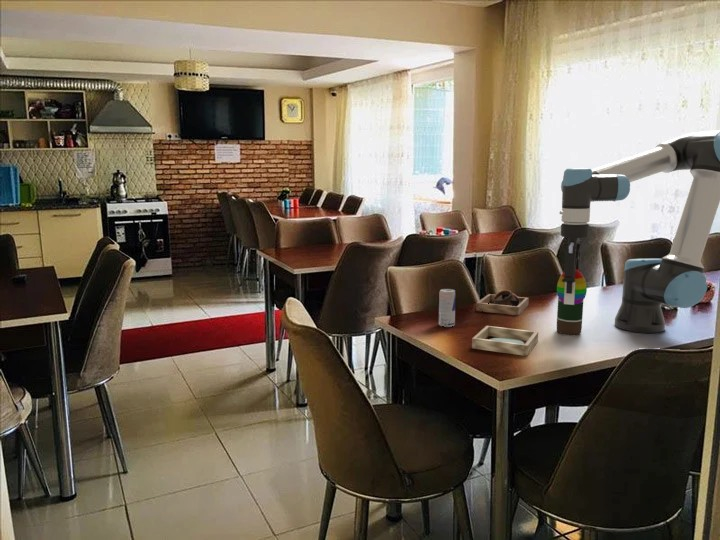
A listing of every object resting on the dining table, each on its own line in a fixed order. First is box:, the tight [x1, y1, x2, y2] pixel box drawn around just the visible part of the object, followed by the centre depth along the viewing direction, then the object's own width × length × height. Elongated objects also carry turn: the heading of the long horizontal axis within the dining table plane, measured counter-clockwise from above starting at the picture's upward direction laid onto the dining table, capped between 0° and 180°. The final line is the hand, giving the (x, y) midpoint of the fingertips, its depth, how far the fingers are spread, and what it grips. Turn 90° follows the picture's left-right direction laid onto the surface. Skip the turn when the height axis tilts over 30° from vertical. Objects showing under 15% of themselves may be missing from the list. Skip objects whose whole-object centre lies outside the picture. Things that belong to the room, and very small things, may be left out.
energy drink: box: [438, 288, 456, 328], centre depth 199 cm, size 5×5×12 cm
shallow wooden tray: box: [471, 325, 539, 357], centre depth 177 cm, size 16×16×3 cm
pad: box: [488, 337, 525, 344], centre depth 178 cm, size 11×11×1 cm
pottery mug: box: [493, 289, 520, 306], centre depth 223 cm, size 12×10×8 cm
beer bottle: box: [556, 296, 584, 336], centre depth 189 cm, size 8×8×24 cm
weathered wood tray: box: [475, 293, 530, 316], centre depth 224 cm, size 16×18×3 cm
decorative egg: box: [556, 269, 588, 304], centre depth 172 cm, size 8×8×10 cm
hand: (571, 300), depth 173 cm, fingers closed on decorative egg, 8 cm apart
